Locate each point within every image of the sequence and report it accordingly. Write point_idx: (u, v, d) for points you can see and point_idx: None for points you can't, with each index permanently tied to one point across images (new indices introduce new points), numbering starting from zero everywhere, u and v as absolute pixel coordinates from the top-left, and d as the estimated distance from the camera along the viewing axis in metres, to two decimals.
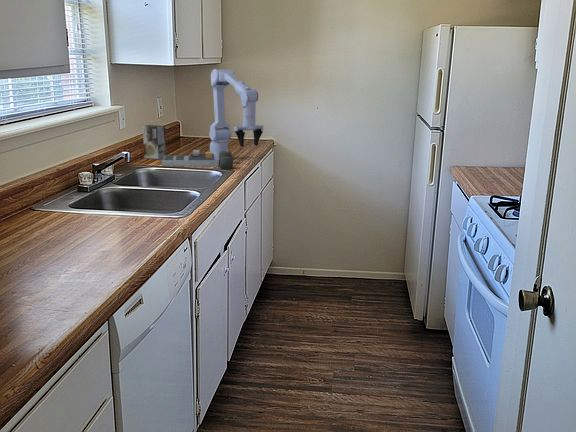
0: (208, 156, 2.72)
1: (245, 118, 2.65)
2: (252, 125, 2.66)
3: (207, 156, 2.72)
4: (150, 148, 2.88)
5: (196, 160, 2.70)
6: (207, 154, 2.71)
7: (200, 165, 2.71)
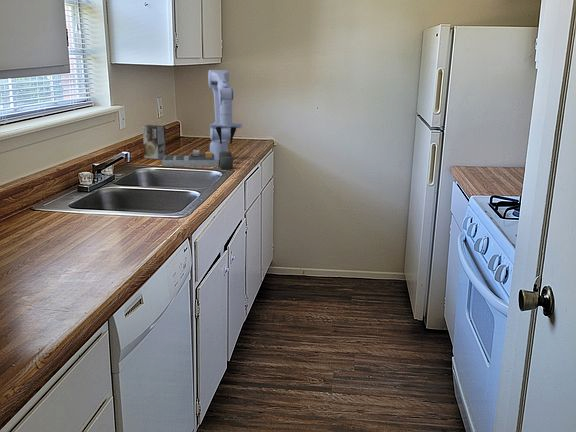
0: (208, 156, 2.72)
1: (220, 116, 2.69)
2: (226, 123, 2.68)
3: (207, 156, 2.72)
4: (150, 148, 2.88)
5: (196, 160, 2.70)
6: (207, 154, 2.71)
7: (200, 165, 2.71)
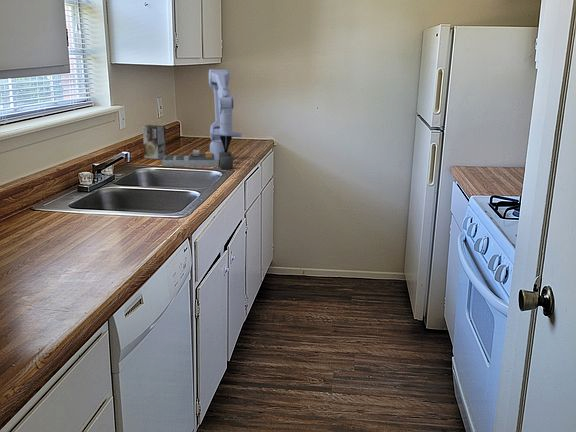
0: (208, 156, 2.72)
1: (220, 125, 2.70)
2: (226, 132, 2.69)
3: (207, 156, 2.72)
4: (150, 148, 2.88)
5: (196, 160, 2.70)
6: (207, 154, 2.71)
7: (200, 165, 2.71)
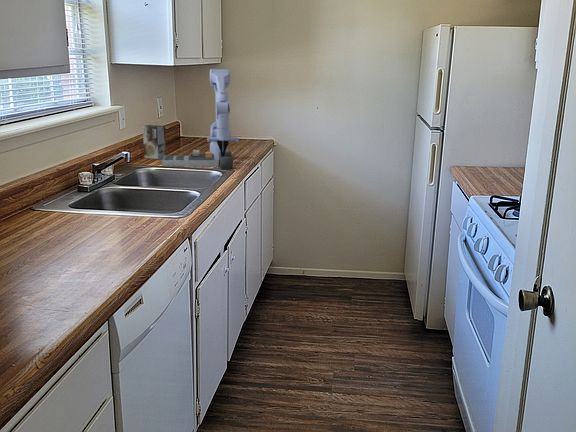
0: (208, 156, 2.72)
1: (217, 129, 2.70)
2: (223, 137, 2.70)
3: (207, 156, 2.72)
4: (150, 148, 2.88)
5: (196, 160, 2.70)
6: (207, 154, 2.71)
7: (200, 165, 2.71)
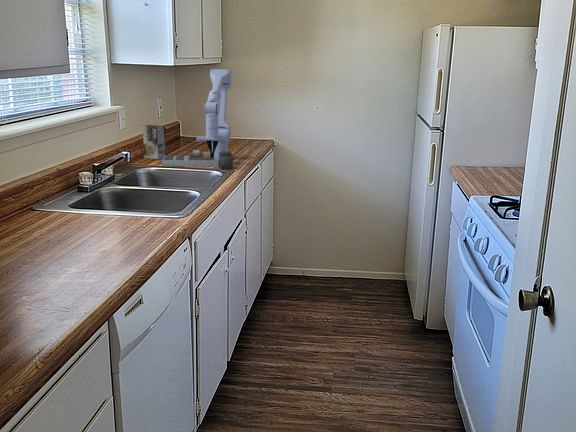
0: (206, 156, 2.72)
1: (206, 129, 2.69)
2: (212, 137, 2.69)
3: (205, 156, 2.71)
4: (150, 148, 2.88)
5: (196, 160, 2.70)
6: (205, 154, 2.71)
7: (200, 165, 2.71)
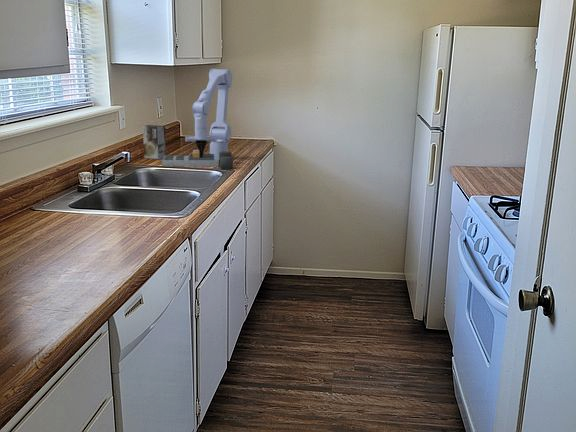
0: (195, 156, 2.71)
1: (195, 129, 2.69)
2: (201, 136, 2.68)
3: (194, 156, 2.71)
4: (150, 148, 2.88)
5: (196, 160, 2.70)
6: (194, 154, 2.71)
7: (200, 165, 2.71)
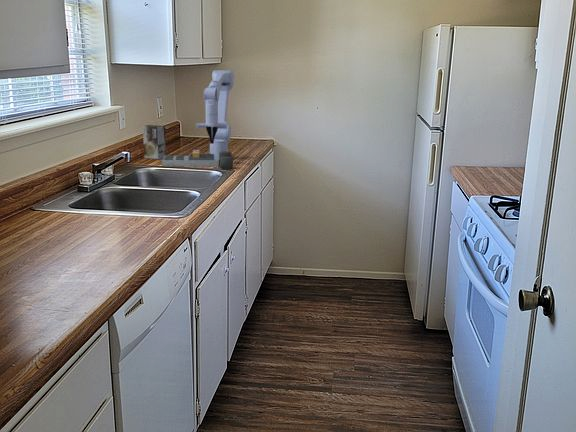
0: (195, 156, 2.71)
1: (206, 115, 2.69)
2: (212, 123, 2.68)
3: (194, 156, 2.71)
4: (150, 148, 2.88)
5: (196, 160, 2.70)
6: (194, 154, 2.71)
7: (200, 165, 2.71)
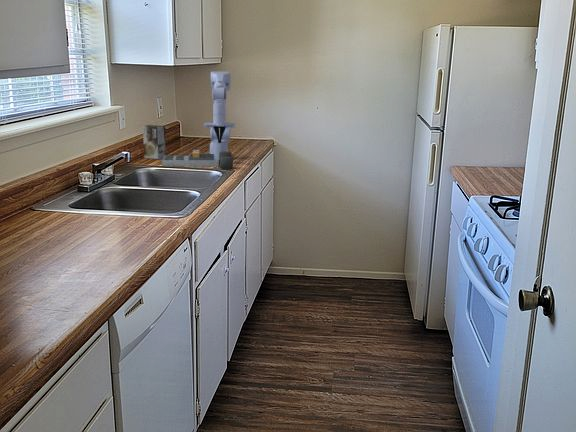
0: (195, 156, 2.71)
1: (213, 115, 2.71)
2: (219, 122, 2.70)
3: (194, 156, 2.71)
4: (150, 148, 2.88)
5: (196, 160, 2.70)
6: (194, 154, 2.71)
7: (200, 165, 2.71)
